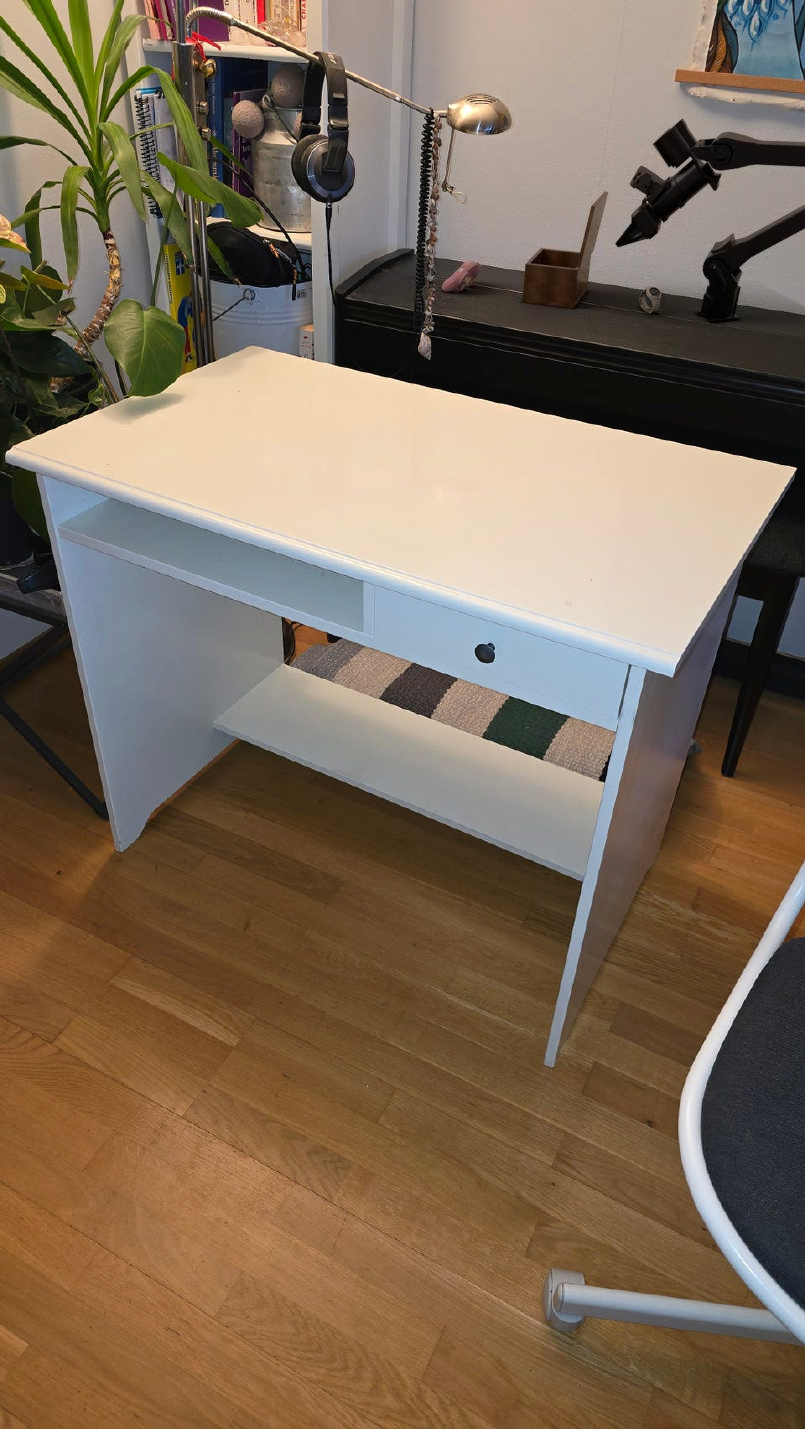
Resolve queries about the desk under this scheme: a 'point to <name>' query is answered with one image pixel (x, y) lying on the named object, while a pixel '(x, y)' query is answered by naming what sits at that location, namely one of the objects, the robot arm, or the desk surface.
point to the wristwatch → (653, 295)
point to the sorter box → (555, 278)
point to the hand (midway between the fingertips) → (620, 240)
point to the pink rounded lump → (463, 276)
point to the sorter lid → (592, 229)
